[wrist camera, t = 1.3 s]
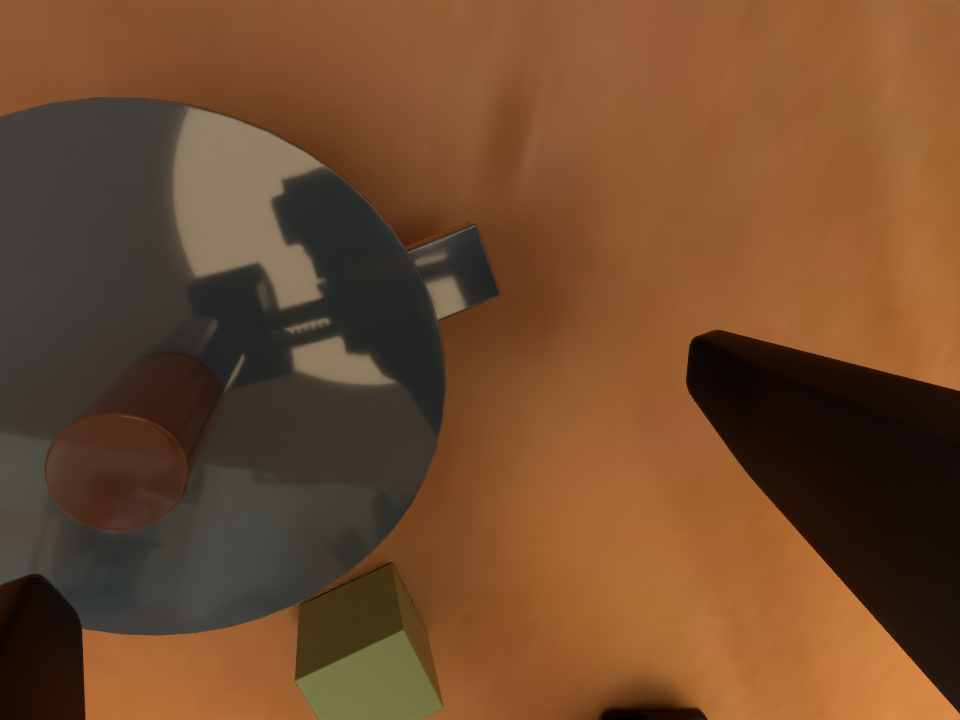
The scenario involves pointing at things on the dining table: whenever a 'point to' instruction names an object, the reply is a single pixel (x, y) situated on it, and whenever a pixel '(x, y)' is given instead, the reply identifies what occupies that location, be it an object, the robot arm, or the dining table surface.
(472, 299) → the pot
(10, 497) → the lid
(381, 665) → the block
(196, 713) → the dining table surface
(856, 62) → the dining table surface
